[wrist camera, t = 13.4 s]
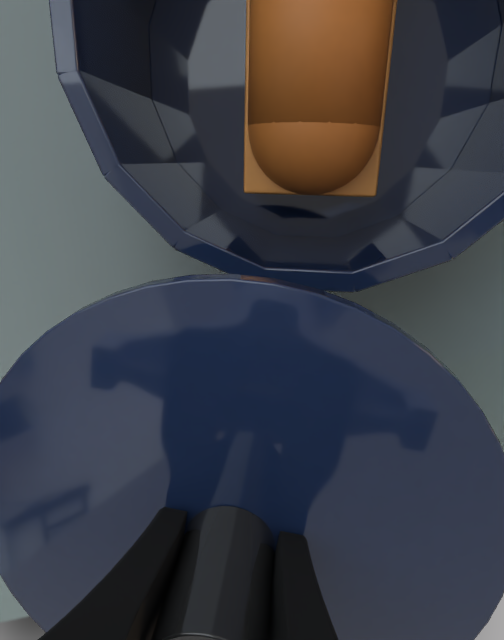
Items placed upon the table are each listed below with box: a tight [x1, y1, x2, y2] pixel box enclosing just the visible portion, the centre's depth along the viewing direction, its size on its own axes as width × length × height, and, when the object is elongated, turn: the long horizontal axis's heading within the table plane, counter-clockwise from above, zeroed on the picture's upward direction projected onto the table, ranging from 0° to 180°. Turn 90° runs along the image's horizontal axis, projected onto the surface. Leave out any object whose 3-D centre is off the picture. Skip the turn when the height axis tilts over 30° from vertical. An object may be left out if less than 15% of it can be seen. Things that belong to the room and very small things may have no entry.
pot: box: [49, 0, 504, 292], centre depth 14 cm, size 13×13×6 cm
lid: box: [0, 274, 504, 640], centre depth 11 cm, size 14×14×4 cm
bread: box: [244, 0, 397, 197], centre depth 14 cm, size 8×4×5 cm, turn 179°
